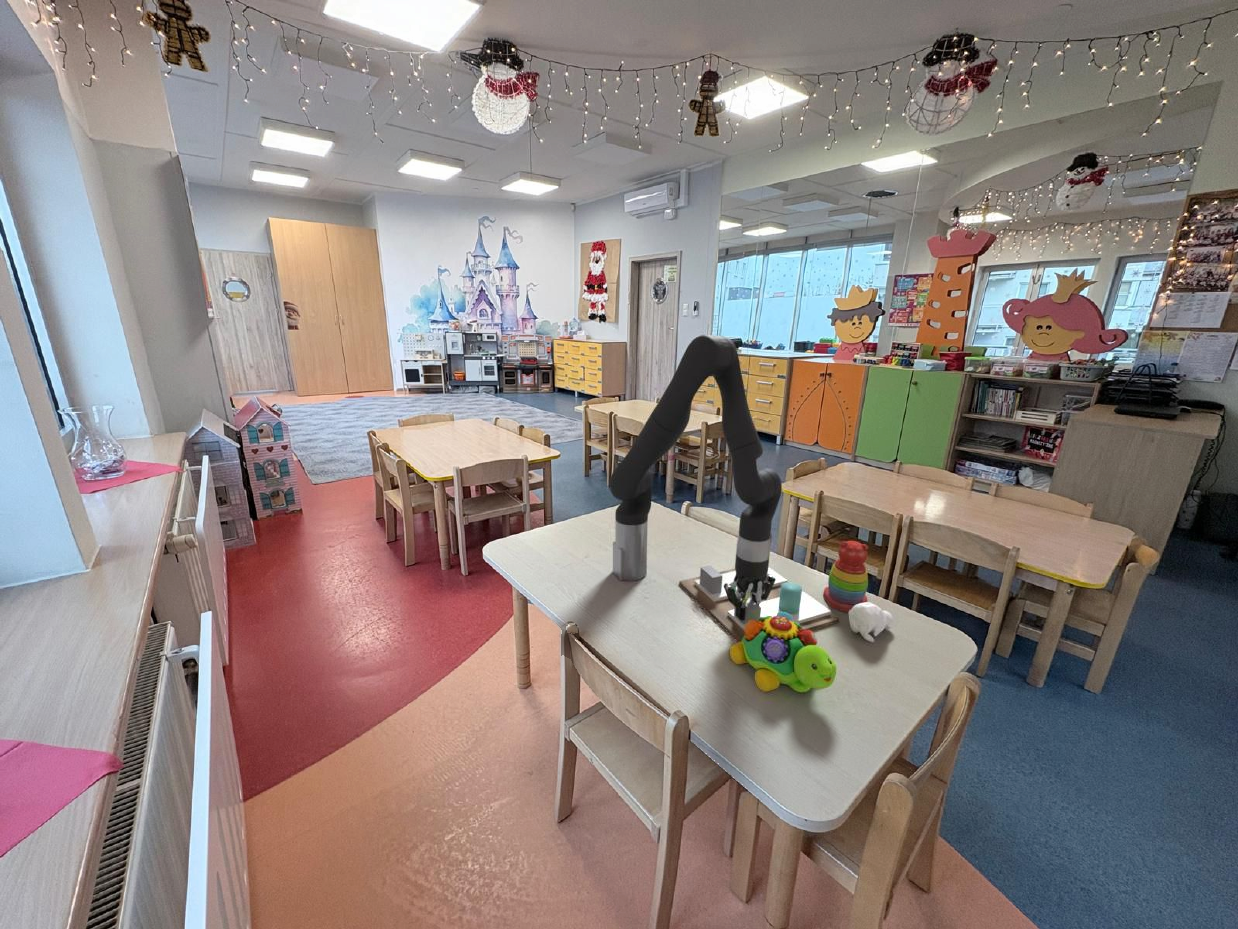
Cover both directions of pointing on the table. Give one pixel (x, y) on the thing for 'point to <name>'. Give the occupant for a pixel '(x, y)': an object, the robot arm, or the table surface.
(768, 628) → the turtle toy
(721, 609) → the lane board
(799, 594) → the teal cylinder
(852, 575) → the stacking bear
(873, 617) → the white toy rabbit
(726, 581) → the empty strip
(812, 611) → the strip
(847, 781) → the table surface
